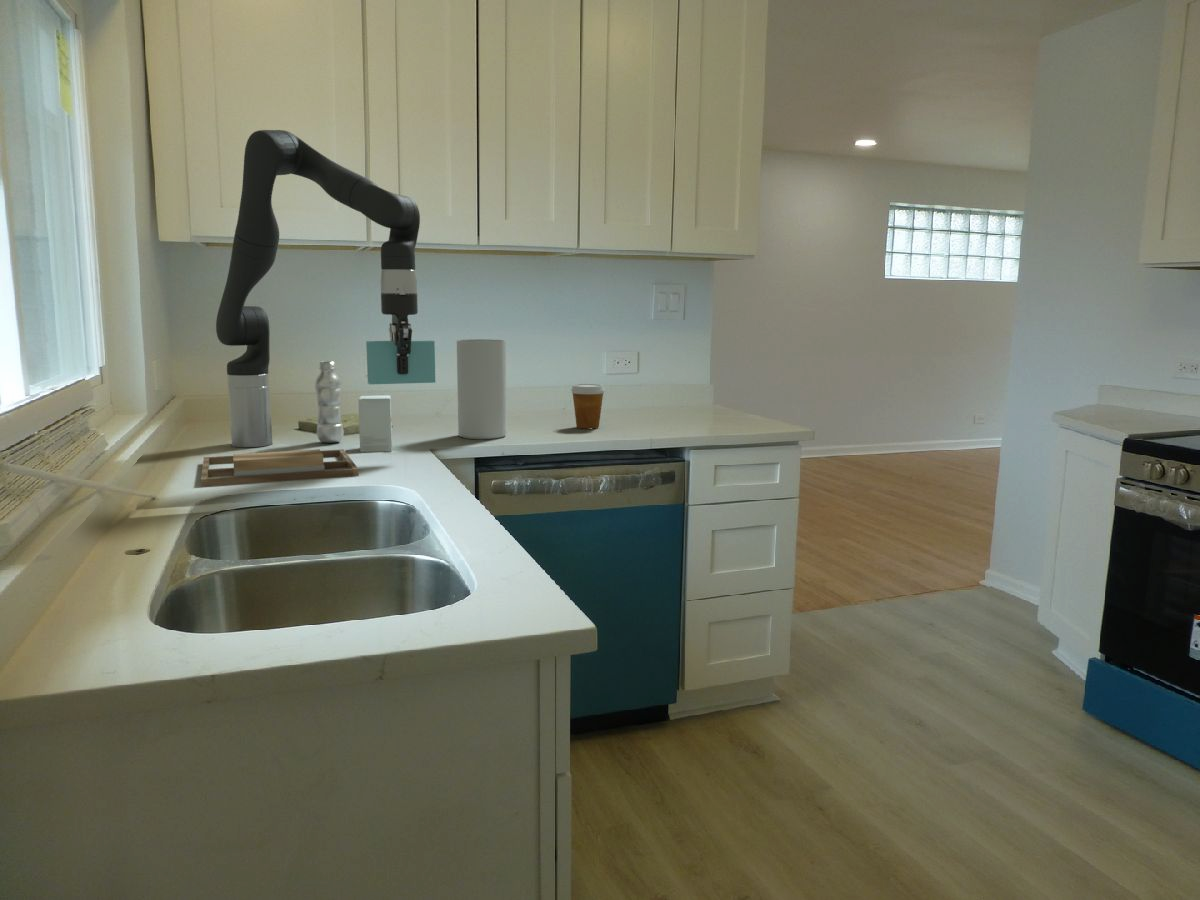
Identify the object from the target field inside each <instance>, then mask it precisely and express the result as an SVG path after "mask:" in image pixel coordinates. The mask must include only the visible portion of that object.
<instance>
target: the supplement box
mask: <svg viewBox="0 0 1200 900" xmlns="http://www.w3.org/2000/svg"><path fill="white" fill-rule="evenodd" d="M357 400H358V414H359V431H360V434H359V452H360V453H379V452H380V453H381V452H385V453H386V452H392V449H393V428H392V426H393V421H392V420H393V418H392V395H389V394H387V395H384V394H383V395H361V396H359V398H358V399H357Z"/></svg>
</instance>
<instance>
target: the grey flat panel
mask: <svg viewBox="0 0 1200 900" xmlns="http://www.w3.org/2000/svg"><path fill="white" fill-rule="evenodd" d="M321 470H326V469H325V467H324V465H323V466H308V467H293V468H278V469H262V470H247V471H234V475H233V476H245V475H261V474H276V473H291V472H306V471H321Z"/></svg>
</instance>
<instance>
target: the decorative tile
mask: <svg viewBox="0 0 1200 900" xmlns="http://www.w3.org/2000/svg"><path fill="white" fill-rule="evenodd" d="M341 421H342V422H341V423H342V425H343V430H344V434H343V437H344V436H345V437H346V436H352V435H360V431H359V413H346V414H341ZM297 423H298V425H297V426H298V429H299V428H301V429H300V430H304V429H305V431H309V430H310V431H311V432H315V433H317V425H318V416H314V417H309V418H307V419H299V420H298V422H297ZM393 427H394V426H393V425H392V429H393Z"/></svg>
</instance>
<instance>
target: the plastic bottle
mask: <svg viewBox="0 0 1200 900" xmlns="http://www.w3.org/2000/svg"><path fill="white" fill-rule="evenodd" d="M318 370H320V372H319V374H318V375H317V376H316V378H315V381H314V388H315V395H316V401H317V411H318V413H317V417H318V425H317V432H316V437H317V439H318V440H319V442H322V443H328V444H334V443H337V442H341V441H342V440H343V438H344V436H343V434H344V430H343V425H342V423H341V422H342V421H341V415H342V414H341V392H342V381H341V379H340V378H341V377H339V376H338V374H337V373H336V372H335V370H336V362H335V361H328V360H327V361H319V368H318Z"/></svg>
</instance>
